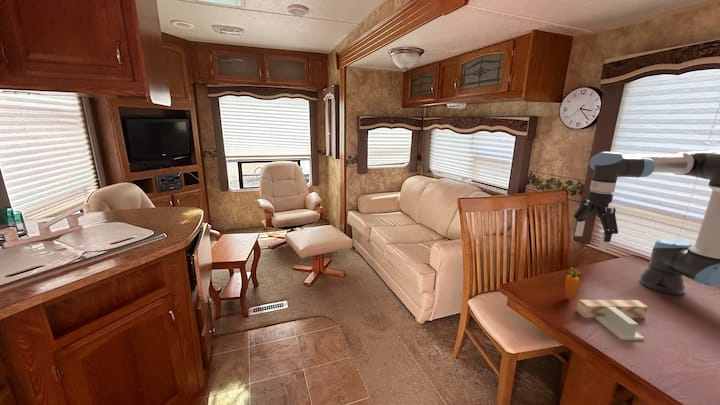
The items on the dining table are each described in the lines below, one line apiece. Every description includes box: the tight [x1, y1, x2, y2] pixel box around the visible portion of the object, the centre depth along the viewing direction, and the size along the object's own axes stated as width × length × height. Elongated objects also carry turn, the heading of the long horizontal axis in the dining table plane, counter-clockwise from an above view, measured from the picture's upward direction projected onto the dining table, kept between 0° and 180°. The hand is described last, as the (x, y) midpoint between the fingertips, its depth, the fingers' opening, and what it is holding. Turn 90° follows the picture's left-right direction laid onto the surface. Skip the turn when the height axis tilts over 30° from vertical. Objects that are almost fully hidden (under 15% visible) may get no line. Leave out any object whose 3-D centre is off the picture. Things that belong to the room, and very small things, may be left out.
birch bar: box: [576, 299, 649, 319], centre depth 118 cm, size 24×4×6 cm, turn 89°
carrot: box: [564, 267, 581, 300], centre depth 127 cm, size 5×5×15 cm
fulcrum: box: [595, 307, 645, 341], centre depth 109 cm, size 8×12×6 cm, turn 179°
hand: (590, 241), depth 120 cm, fingers open, 13 cm apart
